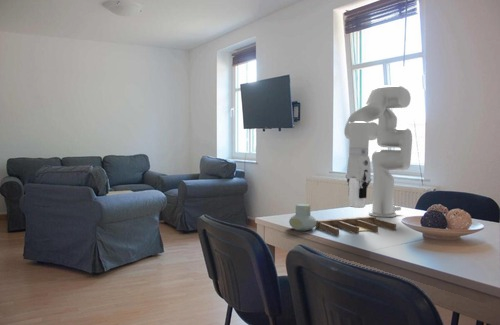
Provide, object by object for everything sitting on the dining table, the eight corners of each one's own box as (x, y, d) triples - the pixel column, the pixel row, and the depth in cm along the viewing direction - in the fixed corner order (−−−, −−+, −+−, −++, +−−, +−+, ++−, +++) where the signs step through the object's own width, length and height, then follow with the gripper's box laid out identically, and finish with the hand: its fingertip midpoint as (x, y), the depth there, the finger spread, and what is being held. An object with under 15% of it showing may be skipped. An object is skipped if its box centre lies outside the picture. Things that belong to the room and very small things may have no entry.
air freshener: (319, 230, 162) (320, 205, 162) (306, 233, 157) (306, 207, 156) (299, 225, 170) (299, 202, 170) (285, 228, 165) (286, 204, 164)
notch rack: (373, 223, 177) (373, 216, 177) (397, 230, 163) (397, 223, 163) (315, 227, 167) (315, 220, 167) (335, 235, 153) (335, 228, 153)
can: (365, 205, 166) (366, 176, 165) (364, 208, 160) (365, 178, 159) (349, 205, 168) (350, 176, 168) (348, 207, 162) (348, 177, 161)
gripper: (380, 153, 156) (378, 199, 157) (353, 151, 172) (352, 193, 173) (364, 153, 153) (362, 200, 154) (338, 151, 169) (337, 194, 170)
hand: (357, 196), depth 164 cm, fingers closed on can, 6 cm apart
